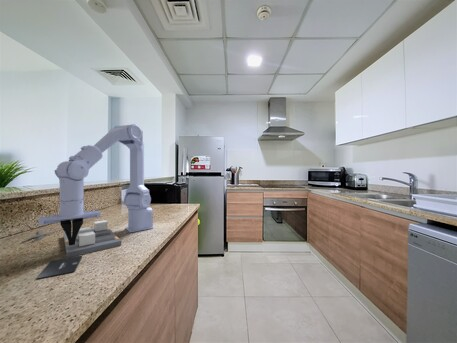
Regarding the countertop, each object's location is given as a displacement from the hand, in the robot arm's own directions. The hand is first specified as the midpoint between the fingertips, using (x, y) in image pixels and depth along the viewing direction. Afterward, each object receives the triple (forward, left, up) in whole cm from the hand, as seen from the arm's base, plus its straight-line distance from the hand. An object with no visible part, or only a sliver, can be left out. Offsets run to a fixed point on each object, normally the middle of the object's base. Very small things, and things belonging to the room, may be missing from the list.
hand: (71, 244), depth 59 cm
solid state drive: (+3, +10, -3) cm, 11 cm away
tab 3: (-10, -14, -1) cm, 18 cm away
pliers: (+5, -28, -3) cm, 29 cm away
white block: (-4, 0, -1) cm, 4 cm away
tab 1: (-4, -7, -1) cm, 8 cm away
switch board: (-6, -7, -2) cm, 9 cm away
